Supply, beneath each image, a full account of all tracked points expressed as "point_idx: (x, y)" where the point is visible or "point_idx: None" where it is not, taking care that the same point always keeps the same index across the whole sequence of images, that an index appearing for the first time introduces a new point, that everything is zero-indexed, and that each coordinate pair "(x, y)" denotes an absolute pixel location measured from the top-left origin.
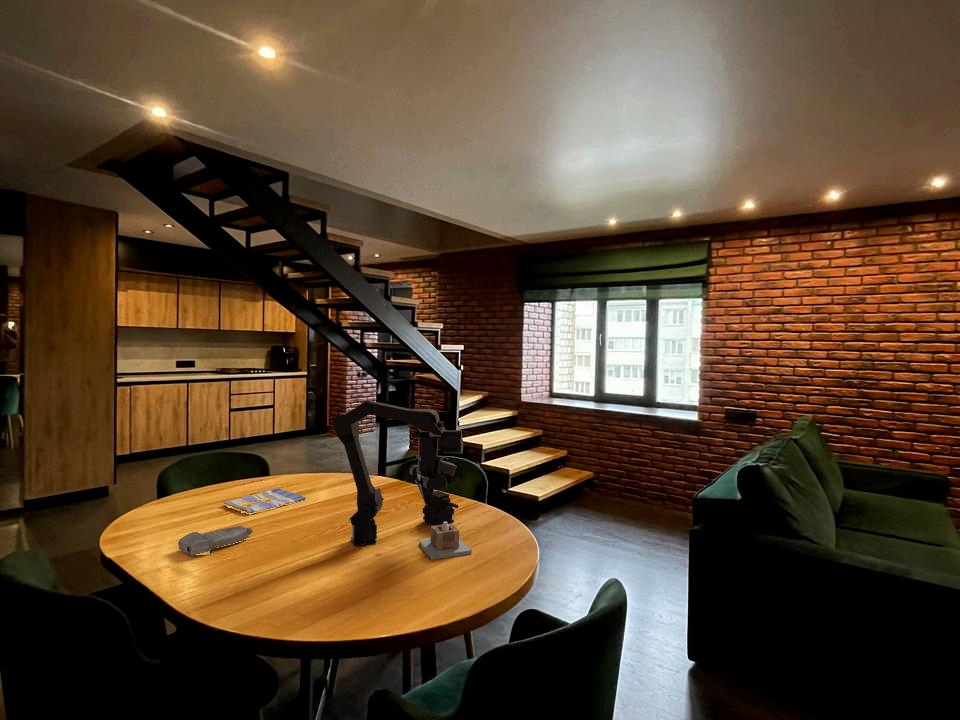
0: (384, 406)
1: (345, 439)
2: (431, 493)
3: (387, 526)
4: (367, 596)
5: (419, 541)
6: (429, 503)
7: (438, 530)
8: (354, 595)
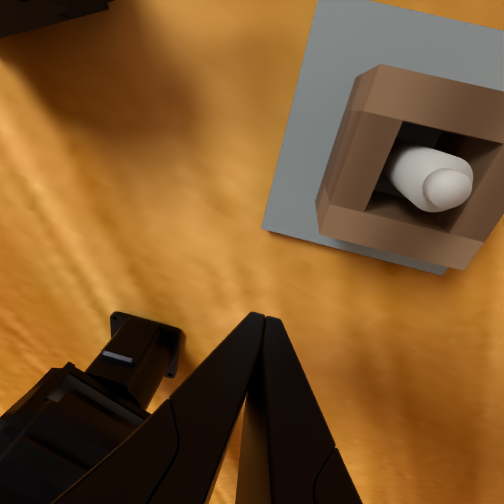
0: None
1: None
2: (338, 485)
3: (31, 226)
4: (470, 471)
5: (264, 228)
6: (284, 328)
7: (423, 239)
8: (440, 479)
